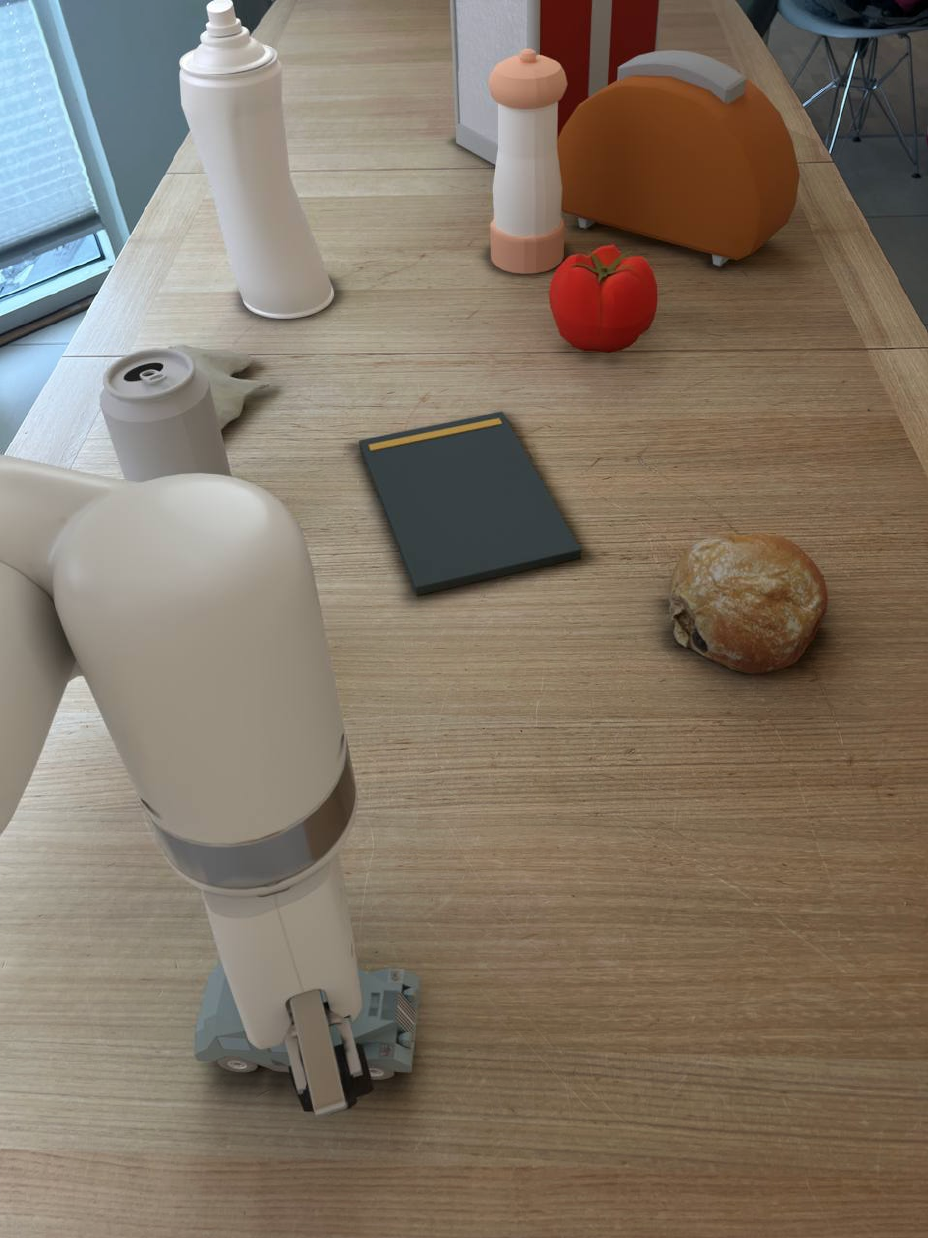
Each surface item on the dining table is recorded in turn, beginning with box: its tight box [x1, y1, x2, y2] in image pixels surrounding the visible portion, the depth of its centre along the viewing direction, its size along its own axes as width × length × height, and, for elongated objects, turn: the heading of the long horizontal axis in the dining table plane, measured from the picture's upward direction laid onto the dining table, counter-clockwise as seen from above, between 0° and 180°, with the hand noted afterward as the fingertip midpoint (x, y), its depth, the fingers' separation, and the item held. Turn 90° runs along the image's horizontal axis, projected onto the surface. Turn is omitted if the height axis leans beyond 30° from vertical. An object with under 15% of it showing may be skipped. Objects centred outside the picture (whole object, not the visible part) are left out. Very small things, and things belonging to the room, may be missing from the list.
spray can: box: [178, 0, 335, 320], centre depth 95 cm, size 12×11×25 cm
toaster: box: [557, 49, 801, 267], centre depth 104 cm, size 23×9×17 cm, turn 53°
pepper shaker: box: [488, 49, 567, 275], centre depth 100 cm, size 7×7×19 cm
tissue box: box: [449, 0, 663, 166], centre depth 117 cm, size 17×18×27 cm
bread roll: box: [668, 532, 829, 675], centre depth 68 cm, size 10×10×8 cm
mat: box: [358, 411, 582, 596], centre depth 80 cm, size 12×18×1 cm, turn 16°
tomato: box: [548, 244, 659, 354], centre depth 93 cm, size 9×9×8 cm
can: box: [99, 347, 233, 483], centre depth 77 cm, size 8×8×12 cm
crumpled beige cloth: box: [167, 344, 271, 431], centre depth 89 cm, size 12×3×15 cm
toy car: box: [194, 958, 422, 1081], centre depth 51 cm, size 6×10×5 cm, turn 86°
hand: (318, 998), depth 51 cm, fingers open, 9 cm apart
